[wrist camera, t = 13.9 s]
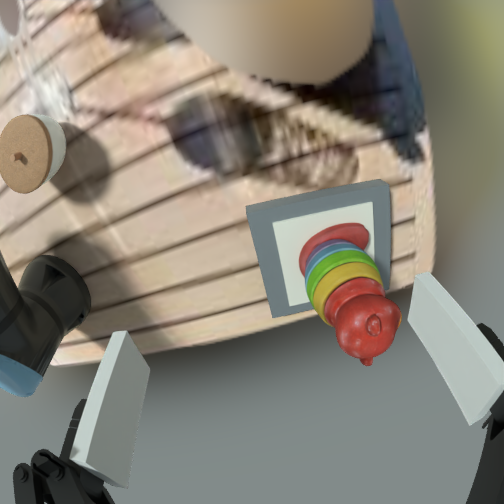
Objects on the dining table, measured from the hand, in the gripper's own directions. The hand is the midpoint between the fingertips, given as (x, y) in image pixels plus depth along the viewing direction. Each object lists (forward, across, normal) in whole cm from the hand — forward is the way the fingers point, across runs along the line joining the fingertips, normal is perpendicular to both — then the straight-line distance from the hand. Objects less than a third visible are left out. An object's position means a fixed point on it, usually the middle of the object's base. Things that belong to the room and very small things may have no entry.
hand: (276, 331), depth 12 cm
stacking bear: (+26, +10, -13) cm, 30 cm away
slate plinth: (+29, +9, -13) cm, 33 cm away
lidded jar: (+30, -28, +13) cm, 42 cm away
